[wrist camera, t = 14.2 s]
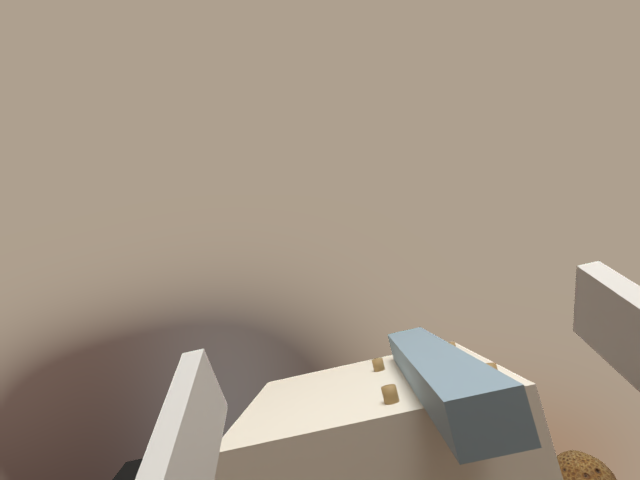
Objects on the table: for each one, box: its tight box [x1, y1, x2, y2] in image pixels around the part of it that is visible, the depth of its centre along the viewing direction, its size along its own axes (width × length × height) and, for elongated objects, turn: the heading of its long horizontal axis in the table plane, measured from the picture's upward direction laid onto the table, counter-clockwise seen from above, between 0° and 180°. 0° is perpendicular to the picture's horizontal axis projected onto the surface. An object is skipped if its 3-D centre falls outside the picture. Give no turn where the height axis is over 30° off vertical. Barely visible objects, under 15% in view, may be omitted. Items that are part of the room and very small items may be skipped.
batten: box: [388, 327, 542, 465], centre depth 33 cm, size 28×4×3 cm, turn 176°
